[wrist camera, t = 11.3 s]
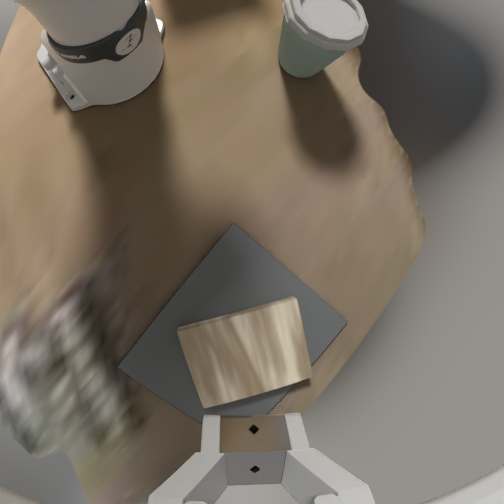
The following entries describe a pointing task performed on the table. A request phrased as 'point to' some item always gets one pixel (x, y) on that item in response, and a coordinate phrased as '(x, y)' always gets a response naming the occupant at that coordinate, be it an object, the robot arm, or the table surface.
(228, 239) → the charcoal mat
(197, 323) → the ash tile
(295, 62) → the disposable coffee cup
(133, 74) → the robot arm
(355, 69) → the table surface
